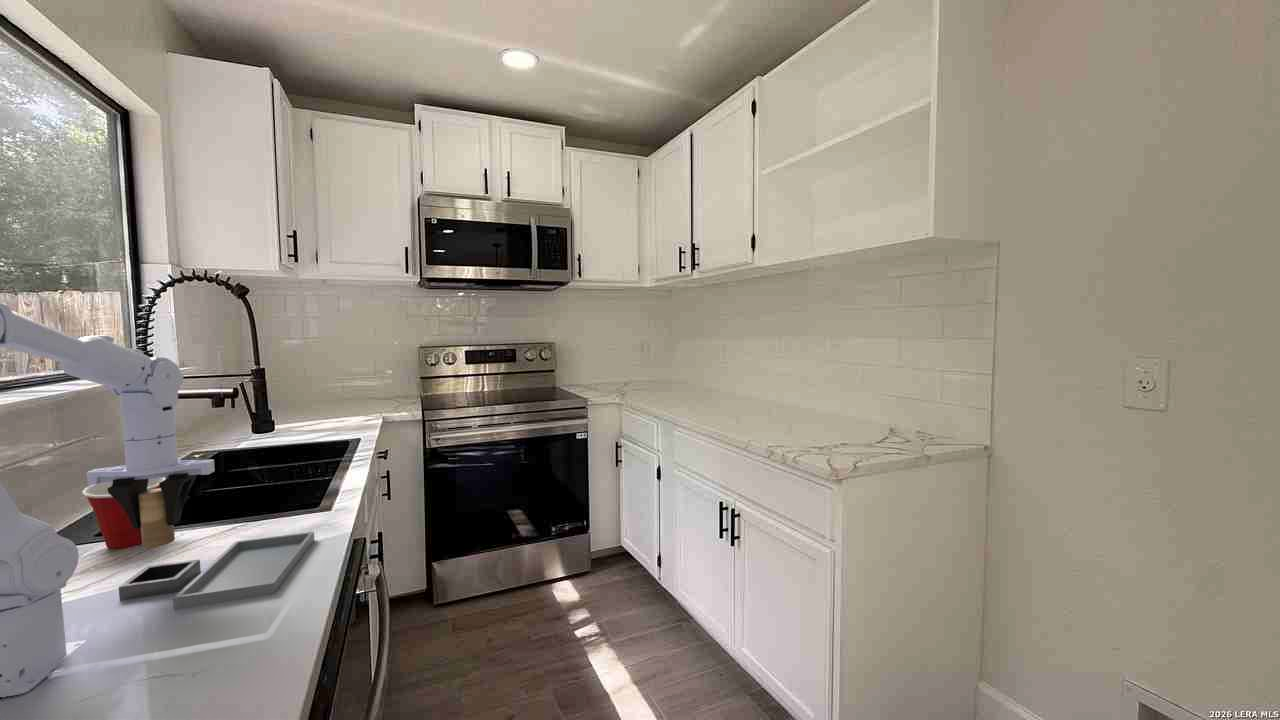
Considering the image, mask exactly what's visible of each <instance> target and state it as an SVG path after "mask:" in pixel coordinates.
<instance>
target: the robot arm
mask: <svg viewBox="0 0 1280 720" xmlns="http://www.w3.org/2000/svg"><path fill="white" fill-rule="evenodd" d="M114 341H115V338H114V337H111V336H109V335H106V334H105V335H104V334H103V335H89V336H87V335H86V336H83V337H79V338H76V337H74V336H72V335H71V334H70V335H69V334H67V333H65V332H62V331H60V330H58V329H55V328H53V327H51V326H49V325H47V324H44V323H42V322H39V321H37V320H34V319H32V318H30V317H27V316H25V315H23V314H21V313H19V312H16V311H13V310H12V309H11V308H10V306H9V304H7V303H5V302H1V301H0V348H3V349H4V348H5V349H9V350H12V351H16V352H20V353H24V354H27V355H31V356H35V357H39V358H43V359H46V360H50V361H54V362H58V363H59V365H60V368H61V370H62V371H63V372H64V373H65V374H66V375H69V376H70V377H75V378H78V379H81V380H84V381H88V382H91V383H95V384H99V385H101V386H104V387H106V388H107V389H108V391H109V392H111V394H113V395H114V396H119V398H120V399H119V400H120V411H121V421H122V436H123V447H124V461H125V465H119V466H109V467H103V468H102V467H101V468H94V469H92V470H89V471H86V481H87V485H88V486H91V485H94V484H99V483H104V482H113V484H112V486H111V487H109V488H108V493H109V494H110V495H111V496H112V497H113V498H114V499H115V500H116V501H117V502H118V503H119V504H120V505H121V507H122V508H123V509H124V511H125V513H126V514H127V516H128V518H129V520H130V522H131V525H132V527H133V529H139V528H141V523H140V510H139V498H138V494H139V493H141V492H144V491H147V485H148V480H149V479H150V478H162V477H165V478H166V479H165V480H164V481H162V482H160V483H159V486H160V488H161V490H162V493H163V496H164V500H165V504H166V518H167V523H168V526H169V525H174V526H175V525H176V524H177V523H179V522H180V521H181V520H182V514H183V508H184V506H185V502H186V499H187V497H188V494H189V492H190V490H191V488H192V485H193V484H194V482H195V480H196V479H197V475H201V476H204V475H205V476H208V475H210V474H212V473H215V471H216V470H215V459H182V460H181V459H180V460H179V454H178V443H177V442H178V440H177V427H176V426H177V425H176V413H175V412H176V411H175V405H177V403H178V401H179V390H180V388H181V387H182V385H183V381H184V373H181V370H180V369H181V368H180V367H179V366H178V365H177V364H176V362H174V361H172V360H171V359H169V358H167V357H154V356H153V357H150V356H148V355H147V354H144V351H143V350H141V349H138V348H128V347H125V346H123V345H122V344H121V345H120V344H118V343H115V342H114ZM79 555H80V554H79V550H78V547H77V545H76V544H75V543H74V542H73V541H72V540H71V539H69V538H66V537H63V536H62V535H59V534H58V533H57V531H56V530H55V529H54V527H53V526H52V525H51V524H49V523H47V522H46V521H42V520H39V519H37V518H34V517H32V516H30V515H27V514H24V513H23V512H21V511H20V509H19V508H18V507H17V505H16V503H14V501H13V499H12V498H11V496H10V495H9V493H8V492H7V490H6V489H5V487H4V485H3V484H2V482H1V481H0V697H2V698H7V696H8V697H12V696H18V695H23V694H25V693H28V692H30V691H31V690H32V689H33V688H34V687H36V686H37V685H38V684H39V683H41V682H42V681H43V680H45V679H46V678H47V677H48V676H49V675H51V674H52V673H53V672H55V670H56V669H54V668H56V667H58V665H59V664H60V663H62V662H63V661H64V660H66V659H67V658H68V657H69V656H70V655H72V654H73V653H75V651H76V650H78V649H79V648H80V647H82V646H84V644H85V643H86V642H87V640H86V639H85V640H76V641H72V642H71V641H70V642H66V633H65V620H64V613H63V612H64V609H63V601H62V589H63V588H65V587H67V582H68V581H69V580H70V578H71V577H72V576H73V575H74V573H75V571H76V569H77V566H78V563H79V559H80V558H79Z"/></svg>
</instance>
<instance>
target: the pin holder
mask: <svg viewBox="0 0 1280 720" xmlns="http://www.w3.org/2000/svg"><path fill="white" fill-rule="evenodd" d="M200 573H201V560H200V559H193V560H184V561H178V562H176V561H175V562H170V563H164V564H163V563H162V564H156V565H147V566H145V567H144V568H143V569H141V570H140V571H138V572H137V573H136V574H134V575H133V576H131V578H129V579H128V580H126V581H125V582H123V583H122V584H121V585H119V586H118V594H119V595H118V596H119V601H120V602H121V601H127V600H134V599H141V598H148V597H155V596H160V595H169V594H175V593H179V592H180V591H181V590H183V589H184V588H185V587H186V586H187V585H188V584H189V583H190V582H191V581H193V580H194V579H195V578H196V577H197V576H198V575H199V574H200Z"/></svg>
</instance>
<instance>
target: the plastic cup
mask: <svg viewBox="0 0 1280 720" xmlns="http://www.w3.org/2000/svg"><path fill="white" fill-rule="evenodd" d="M166 479H167V477H162V478H150V479H149V480H148V485H147V490H152V489H157V488H160V486H159V483H160V482H162V481H164V480H166ZM112 484H113V482H104V483H99V484H94V485H88V486H86V487H85V488H84V489H82V491H81V493H82V495H83V496H85V498H87V500H88V502H89V504H90V506H91V508H92V511H93V513H94V516H95V519H96V523H97V525H98V527H99V531H100V534H101V535H102V537H103V541H104V543H105V546H106V548H107V550H119V549H120V550H121V549H123V550H124V549H126V548H127V549H128V548H132V547H137V546H142V535H141V528H139V529H133V527H132V525H131V522H130V520H129V518H128V516H127V514H126V513H125V511H124V509H123V508H122V507H121V505H120V504H119V503H118V502H117V501H116V500H115V499H114V498H113V497H112V496H111V495H110V494H109V493H108V488H109V487H111V486H112Z"/></svg>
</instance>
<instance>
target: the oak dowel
mask: <svg viewBox="0 0 1280 720" xmlns="http://www.w3.org/2000/svg"><path fill="white" fill-rule="evenodd" d="M138 498H139V510H140V523H141V535H142V545H141V546H142V548H144V549H152V548H158V547H162V546H166V545H168V544H171V543H172V542H175V539H176V538H175V524H174V525H169V526H168V523H167V518H166V504H165V500H164V496H163V493H162V490H161V488H157V489H152V490H147V491H144V492H141V493H139V494H138Z"/></svg>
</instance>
